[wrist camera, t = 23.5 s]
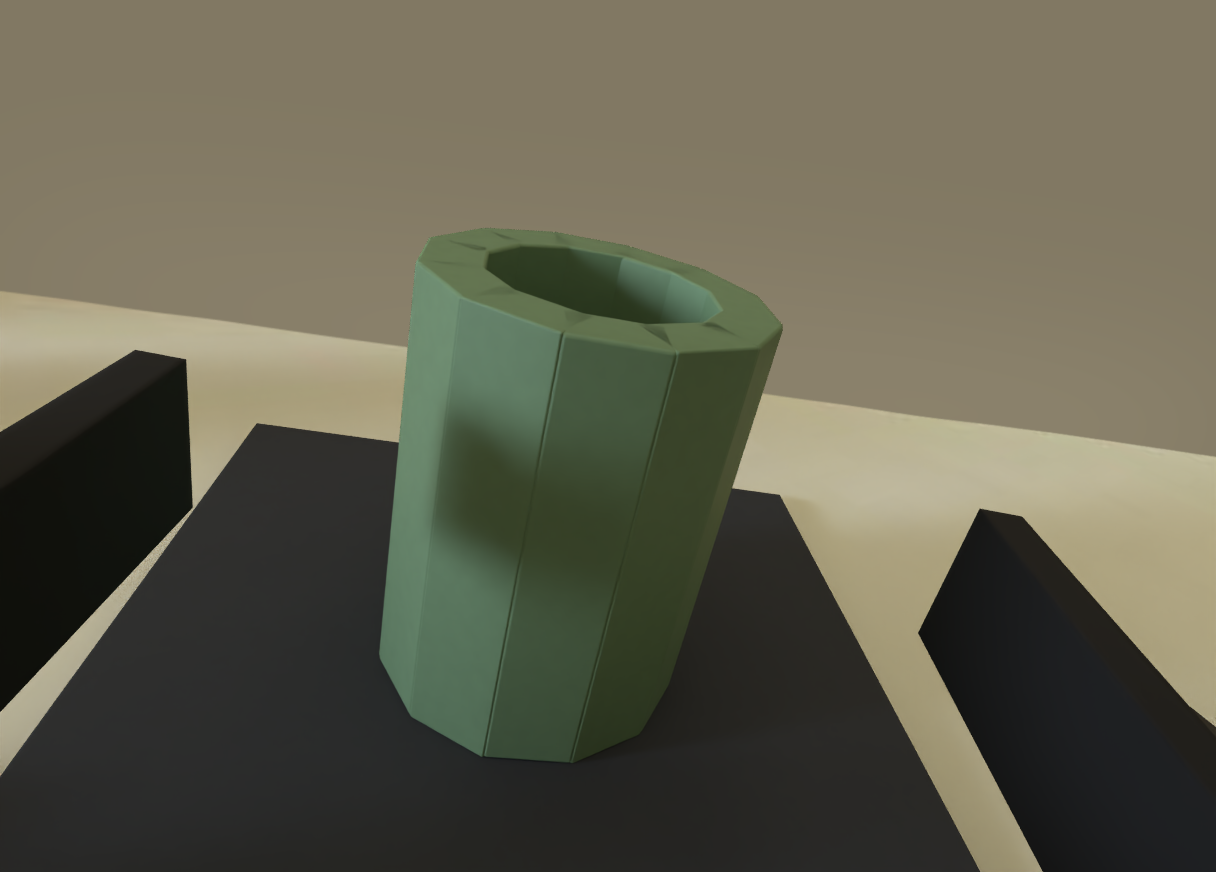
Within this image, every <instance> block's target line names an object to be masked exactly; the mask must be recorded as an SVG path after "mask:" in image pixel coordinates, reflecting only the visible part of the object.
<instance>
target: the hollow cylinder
mask: <svg viewBox="0 0 1216 872" xmlns="http://www.w3.org/2000/svg"><path fill="white" fill-rule="evenodd" d="M782 328H783V327H782V324H781V323H780V322H779V320H778V319H777V318H776V317H775V316H774V314H773V313H772V312H771V311H770V310H769V309H768V307H767V306H766V305H765V304H764V303H763V302H762V300H761V299H760V298H759V297H758V296H756V295H755V294H753V293H751V292H749V291H747V290H744V289H743V288H740V287H738V286H736V285H734V284H732V283H730V282H728V281H726V280H724V279H722V278H720V277H718V276H716V275H714V274H712V273H710V272H708V271H706V270H704V269H700V268H698V267H695V266H692V265H689V264H685V263H682V262H679V261H676V260H672V259H669V258H666V257H663V256H660V255H656V254H653V253H650V252H647V251H643V250H640V249H637V248H634V247H630V246H627V245H622V244H616V243H611V242H606V241H600V240H595V239H590V238H584V237H579V236H574V235H568V234H563V233H558V232H546V231H529V230H512V229H495V228H481V229H476V230H470V231H464V232H459V233H452V234H447V235H441V236H435V237H431V238H429V239H428V241H427V243H426V245H425V247H424V249H423V251H422V253H421V254H420V256H419V258H418V260H417V262H416V266H415V276H414V287H413V298H412V309H411V319H410V330H409V340H408V351H407V362H406V373H405V383H404V394H403V405H402V415H401V426H400V437H399V448H398V458H397V469H396V480H395V490H394V501H393V512H392V523H391V533H390V544H389V555H388V565H387V576H386V587H385V598H384V608H383V619H382V630H381V640H380V651H379V655H380V659H381V661H382V663H383V665H384V667H385V669H386V671H387V673H388V674H389V676H390V678H391V680H392V682H393V684H394V686H395V688H396V689H397V691H398V693H399V695H400V697H401V699H402V701H403V703H404V705H405V706H406V708H407V710H408V712H409V714H410V716H411V717H413V718H414V719H416V720H418V721H420V722H421V723H423V724H425V725H427V726H428V727H430V728H432V729H434V730H435V731H437V732H439V733H441V734H442V735H444V736H446V737H448V738H449V739H451V740H453V741H455V742H456V743H458V744H460V745H462V746H463V747H465V748H467V749H469V750H470V751H472V752H474V753H476V754H477V755H479V756H481V757H483V756H486V757H495V758H509V759H523V760H536V761H550V762H564V763H569V762H570V763H574V762H577V761H579V760H581V759H584V758H586V757H588V756H591V755H593V754H595V753H597V752H600V751H602V750H604V749H607V748H609V747H611V746H614V745H616V744H618V743H621V742H623V741H625V740H628V739H630V738H632V737H635V736H637V735H639V734H640V732H641V731H642V730H643V728H644V726H645V725H646V723H647V721H648V720H649V718H650V716H651V714H652V713H653V711H654V709H655V707H656V706H657V704H658V702H659V701H660V699H661V697H662V695H663V694H664V692H665V690H666V688H667V687H668V685H669V682H670V679H671V676H672V673H673V670H674V667H675V664H676V661H677V657H678V654H679V651H680V648H681V645H682V642H683V639H684V636H685V633H686V629H687V626H688V623H689V620H690V617H691V614H692V611H693V608H694V604H695V601H696V598H697V595H698V592H699V589H700V586H701V583H702V580H703V576H704V573H705V570H706V567H707V564H708V561H709V558H710V555H711V552H712V548H713V545H714V542H715V539H716V536H717V533H718V530H719V527H720V524H721V520H722V517H723V514H724V511H725V508H726V505H727V502H728V499H729V496H730V492H731V489H732V486H733V483H734V480H735V477H736V474H737V471H738V468H739V464H740V461H741V458H742V455H743V452H744V449H745V446H746V443H747V440H748V436H749V433H750V430H751V427H752V424H753V421H754V418H755V415H756V412H757V408H758V405H759V402H760V399H761V396H762V393H763V390H764V386H765V383H766V380H767V377H768V374H769V371H770V368H771V365H772V362H773V358H774V355H775V352H776V349H777V346H778V343H779V340H780V337H781V334H782V331H783V329H782Z"/></svg>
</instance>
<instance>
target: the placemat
mask: <svg viewBox="0 0 1216 872" xmlns="http://www.w3.org/2000/svg"><path fill="white" fill-rule="evenodd" d="M398 448H399V443H397V442H390V441H382V440H375V439H368V438H361V437H353V436H346V435H339V434H331V433H324V432H317V431H310V430H302V429H295V428H288V427H280V426H273V425H266V424H259V423H257V424H256V425H255V426H254V428H253V429H252V431H251V432H250V433H249V435H248V436H247V438H246V439H245V440H244V442H243V443H242V444H241V446H240V447H239V449H238V450H237V451H236V453H235V454H234V455H233V457H232V458H231V460H230V461H229V462H228V464H227V465H226V466H225V468H224V469H223V471H222V472H221V473H220V475H219V476H218V477H217V479H216V480H215V482H214V483H213V484H212V486H211V487H210V488H209V490H208V491H207V493H206V494H205V495H204V497H203V498H202V499H201V501H200V502H199V504H198V505H197V506H196V508H195V509H194V510H193V512H192V513H191V515H190V516H189V517H188V519H187V520H186V521H185V523H184V524H183V526H182V527H181V528H180V530H179V531H178V533H177V534H176V535H175V537H174V538H173V539H172V541H171V542H170V544H169V545H168V546H167V548H166V549H165V550H164V552H163V553H162V555H161V556H160V557H159V559H158V560H157V561H156V563H155V564H154V566H153V567H152V568H151V570H150V571H149V572H148V574H147V575H146V577H145V578H144V579H143V581H142V582H141V583H140V585H139V586H138V588H137V589H136V590H135V592H134V593H133V594H132V596H131V597H130V599H129V600H128V601H127V603H126V604H125V605H124V607H123V608H122V610H121V611H120V612H119V614H118V615H117V617H116V618H115V619H114V621H113V622H112V623H111V625H110V626H109V628H108V629H107V630H106V632H105V633H104V634H103V636H102V637H101V639H100V640H99V641H98V643H97V644H96V645H95V647H94V648H93V650H92V651H91V652H90V654H89V655H88V656H87V658H86V659H85V661H84V662H83V663H82V665H81V666H80V667H79V669H78V670H77V672H76V673H75V674H74V676H73V677H72V678H71V680H70V681H69V683H68V684H67V685H66V687H65V688H64V689H63V691H62V692H61V694H60V695H59V696H58V698H57V699H56V700H55V702H54V703H53V705H52V706H51V707H50V709H49V710H48V712H47V713H46V714H45V716H44V717H43V718H42V720H41V721H40V723H39V724H38V725H37V727H36V728H35V729H34V731H33V732H32V734H31V735H30V736H29V738H28V739H27V740H26V742H25V743H24V745H23V746H22V747H21V749H20V750H19V751H18V753H17V754H16V756H15V757H14V758H13V760H12V761H11V762H10V764H9V765H8V767H7V768H6V769H5V771H4V772H3V773H2V775H1V776H0V872H980V870H979V869H978V867H977V865H976V863H975V861H974V859H973V857H972V855H971V854H970V852H969V850H968V848H967V846H966V844H965V842H964V840H963V839H962V837H961V835H960V833H959V831H958V829H957V827H956V825H955V823H954V822H953V820H952V818H951V816H950V814H949V812H948V810H947V808H946V807H945V805H944V803H943V801H942V799H941V797H940V795H939V793H938V792H937V790H936V788H935V786H934V784H933V782H932V780H931V778H930V777H929V775H928V773H927V771H926V769H925V767H924V765H923V763H922V762H921V760H920V758H919V756H918V754H917V752H916V750H915V748H914V746H913V745H912V743H911V741H910V739H909V737H908V735H907V733H906V731H905V730H904V728H903V726H902V724H901V722H900V720H899V718H898V716H897V715H896V713H895V711H894V709H893V707H892V705H891V703H890V701H889V700H888V698H887V696H886V694H885V692H884V690H883V688H882V686H881V685H880V683H879V681H878V679H877V677H876V675H875V673H874V671H873V669H872V668H871V666H870V664H869V662H868V660H867V658H866V656H865V654H864V653H863V651H862V649H861V647H860V645H859V643H858V641H857V639H856V638H855V636H854V634H853V632H852V630H851V628H850V626H849V624H848V623H847V621H846V619H845V617H844V615H843V613H842V611H841V609H840V608H839V606H838V604H837V602H836V600H835V598H834V596H833V594H832V592H831V591H830V589H829V587H828V585H827V583H826V581H825V579H824V577H823V576H822V574H821V572H820V570H819V568H818V566H817V564H816V562H815V561H814V559H813V557H812V555H811V553H810V551H809V549H808V547H807V546H806V544H805V542H804V540H803V538H802V536H801V534H800V532H799V531H798V529H797V527H796V525H795V523H794V521H793V519H792V517H791V515H790V514H789V512H788V510H787V508H786V506H785V504H784V502H783V500H782V499H781V497H780V495H776V494H769V493H762V492H754V491H747V490H740V489H731V492H730V496H729V499H728V502H727V505H726V508H725V511H724V514H723V517H722V520H721V524H720V527H719V530H718V533H717V536H716V539H715V542H714V545H713V548H712V552H711V555H710V558H709V561H708V564H707V567H706V570H705V573H704V576H703V580H702V583H701V586H700V589H699V592H698V595H697V598H696V601H695V604H694V608H693V611H692V614H691V617H690V620H689V623H688V626H687V629H686V633H685V636H684V639H683V642H682V645H681V648H680V651H679V654H678V657H677V661H676V664H675V667H674V670H673V673H672V676H671V679H670V682H669V685H668V687H667V688H666V690H665V692H664V694H663V695H662V697H661V699H660V701H659V702H658V704H657V706H656V707H655V709H654V711H653V713H652V714H651V716H650V718H649V720H648V721H647V723H646V725H645V726H644V728H643V730H642V731H641V732H640V734H639V735H637V736H635V737H632V738H630V739H628V740H625V741H623V742H621V743H618V744H616V745H614V746H611V747H609V748H607V749H604V750H602V751H600V752H597V753H595V754H593V755H591V756H588V757H586V758H584V759H581V760H579V761H577V762H574V763H570V762H569V763H564V762H550V761H536V760H523V759H509V758H495V757H486V756H483V757H481V756H479V755H477V754H476V753H474V752H472V751H470V750H469V749H467V748H465V747H463V746H462V745H460V744H458V743H456V742H455V741H453V740H451V739H449V738H448V737H446V736H444V735H442V734H441V733H439V732H437V731H435V730H434V729H432V728H430V727H428V726H427V725H425V724H423V723H421V722H420V721H418V720H416V719H414V718H413V717H411V716H410V714H409V712H408V710H407V708H406V706H405V705H404V703H403V701H402V699H401V697H400V695H399V693H398V691H397V689H396V688H395V686H394V684H393V682H392V680H391V678H390V676H389V674H388V673H387V671H386V669H385V667H384V665H383V663H382V661H381V659H380V655H379V651H380V640H381V630H382V619H383V608H384V598H385V587H386V576H387V565H388V555H389V544H390V533H391V523H392V512H393V501H394V490H395V480H396V469H397V458H398Z"/></svg>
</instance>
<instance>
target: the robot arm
mask: <svg viewBox="0 0 1216 872" xmlns="http://www.w3.org/2000/svg"><path fill="white" fill-rule="evenodd" d="M192 508H193V504H192V481H191V459H190V436H189V413H188V390H187V368H186V359H181V358H176V357H170V356H165V355H160V354H155V353H149V352H144V351H139V350H135V351H133V352H131V353H130V354H128V355H126V356H125V357H123V358H121V359H120V360H118V361H116V362H115V363H113V364H112V365H110V366H108V367H107V368H105V369H103V370H102V371H100V372H98V373H97V374H95V375H93V376H92V377H90V378H89V379H87V380H85V381H84V382H82V383H80V384H79V385H77V386H75V387H74V388H72V389H70V390H69V391H67V392H66V393H64V394H62V395H61V396H59V397H57V398H56V399H54V400H52V401H51V402H49V403H47V404H46V405H44V406H43V407H41V408H39V409H38V410H36V411H34V412H33V413H31V414H29V415H28V416H26V417H24V418H23V419H21V420H20V421H18V422H16V423H15V424H13V425H11V426H10V427H8V428H6V429H5V430H3V431H1V432H0V712H1V711H2V710H3V709H4V708H5V706H6V705H7V704H8V703H9V702H10V701H11V700H12V699H13V698H14V697H15V696H16V695H17V694H18V693H19V692H20V690H21V689H22V688H23V687H24V686H25V685H26V684H27V683H28V682H29V681H30V680H31V679H32V678H33V677H34V676H35V675H36V673H37V672H38V671H39V670H40V669H41V668H42V667H43V666H44V665H45V664H46V663H47V662H48V661H49V660H50V659H51V658H52V656H53V655H54V654H55V653H56V652H57V651H58V650H59V649H60V648H61V647H62V646H63V645H64V644H65V643H66V642H67V641H68V639H69V638H70V637H71V636H72V635H73V634H74V633H75V632H76V631H77V630H78V629H79V628H80V627H81V626H82V625H83V624H84V622H85V621H86V620H87V619H88V618H89V617H90V616H91V615H92V614H93V613H94V612H95V611H96V610H97V609H98V608H99V607H100V605H101V604H102V603H103V602H104V601H105V600H106V599H107V598H108V597H109V596H110V595H111V594H112V593H113V592H114V591H115V590H116V588H117V587H118V586H119V585H120V584H121V583H122V582H123V581H124V580H125V579H126V578H127V577H128V576H129V575H130V574H131V573H132V571H133V570H134V569H135V568H136V567H137V566H138V565H139V564H140V563H141V562H142V561H143V560H144V559H145V558H146V557H147V556H148V554H149V553H150V552H151V551H152V550H153V549H154V548H155V547H156V546H157V545H158V544H159V543H160V542H161V541H162V540H163V539H164V537H165V536H166V535H167V534H168V533H169V532H170V531H171V530H172V529H173V528H174V527H175V526H176V525H177V524H178V523H179V522H180V520H181V519H182V518H183V517H184V516H185V515H186V514H187V513H188V512H189V511H190V510H191V509H192ZM918 634H919V636H920V638H921V639H922V641H923V643H924V645H925V647H926V649H927V651H928V653H929V655H930V657H931V659H932V661H933V662H934V664H935V666H936V668H937V670H938V672H939V674H940V676H941V678H942V680H943V682H944V683H945V685H946V687H947V689H948V691H949V693H950V695H951V697H952V699H953V701H954V703H955V705H956V706H957V708H958V710H959V712H960V714H961V716H962V718H963V720H964V722H965V724H966V726H967V727H968V729H969V731H970V733H971V735H972V737H973V739H974V741H975V743H976V745H977V747H978V749H979V750H980V752H981V754H982V756H983V758H984V760H985V762H986V764H987V766H988V768H989V770H990V771H991V773H992V775H993V777H994V779H995V781H996V783H997V785H998V787H999V789H1000V791H1001V793H1002V794H1003V796H1004V798H1005V800H1006V802H1007V804H1008V806H1009V808H1010V810H1011V812H1012V814H1013V815H1014V817H1015V819H1016V821H1017V823H1018V825H1019V827H1020V829H1021V831H1022V833H1023V835H1024V837H1025V838H1026V840H1027V842H1028V844H1029V846H1030V848H1031V850H1032V852H1033V854H1034V856H1035V858H1036V859H1037V861H1038V863H1039V865H1040V867H1041V869H1042V871H1043V872H1216V727H1215V726H1214V725H1213V724H1211V723H1210V722H1209V721H1207V720H1206V719H1205V718H1204V717H1202V716H1201V715H1200V714H1199V713H1197V712H1196V711H1195V710H1194V709H1192V708H1191V707H1189V706H1188V704H1187V703H1186V702H1185V701H1184V700H1183V699H1182V698H1181V696H1180V695H1179V694H1178V693H1177V692H1176V691H1175V690H1174V688H1173V687H1172V686H1171V685H1170V684H1169V683H1168V682H1167V681H1166V679H1165V678H1164V677H1163V676H1162V675H1161V674H1160V673H1159V671H1158V670H1157V669H1156V668H1155V667H1154V666H1153V665H1152V664H1151V662H1150V661H1149V660H1148V659H1147V658H1146V657H1145V656H1144V654H1143V653H1142V652H1141V651H1140V650H1139V649H1138V648H1137V647H1136V645H1135V644H1134V643H1133V642H1132V641H1131V640H1130V639H1129V637H1128V636H1127V635H1126V634H1125V633H1124V632H1123V631H1122V629H1121V628H1120V627H1119V626H1118V625H1117V624H1116V623H1115V622H1114V620H1113V619H1112V618H1111V617H1110V616H1109V615H1108V614H1107V612H1106V611H1105V610H1104V609H1103V608H1102V607H1101V606H1100V605H1099V603H1098V602H1097V601H1096V600H1095V599H1094V598H1093V597H1092V595H1091V594H1090V593H1089V592H1088V591H1087V590H1086V589H1085V587H1084V586H1083V585H1082V584H1081V583H1080V582H1079V581H1078V580H1077V578H1076V577H1075V576H1074V575H1073V574H1072V573H1071V572H1070V570H1069V569H1068V568H1067V567H1066V566H1065V565H1064V564H1063V563H1062V561H1061V560H1060V559H1059V558H1058V557H1057V556H1056V555H1055V553H1054V552H1053V551H1052V550H1051V549H1050V548H1049V547H1048V545H1047V544H1046V543H1045V542H1044V541H1043V540H1042V539H1041V538H1040V536H1039V535H1038V534H1037V533H1036V532H1035V531H1034V530H1033V528H1032V527H1031V526H1030V525H1029V524H1028V523H1027V522H1026V521H1025V519H1024V518H1023V517H1021V516H1016V515H1011V514H1005V513H1000V512H995V511H989V510H984V509H979V511H978V513H977V515H976V517H975V519H974V521H973V523H972V525H971V527H970V529H969V531H968V533H967V535H966V537H965V540H964V542H963V544H962V546H961V548H960V550H959V552H958V554H957V556H956V558H955V560H954V562H953V564H952V566H951V568H950V570H949V572H948V574H947V576H946V578H945V580H944V582H943V584H942V586H941V588H940V590H939V592H938V594H937V596H936V598H935V600H934V602H933V604H932V606H931V608H930V610H929V612H928V614H927V616H926V618H925V620H924V622H923V624H922V626H921V628H920V630H919V632H918Z"/></svg>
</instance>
